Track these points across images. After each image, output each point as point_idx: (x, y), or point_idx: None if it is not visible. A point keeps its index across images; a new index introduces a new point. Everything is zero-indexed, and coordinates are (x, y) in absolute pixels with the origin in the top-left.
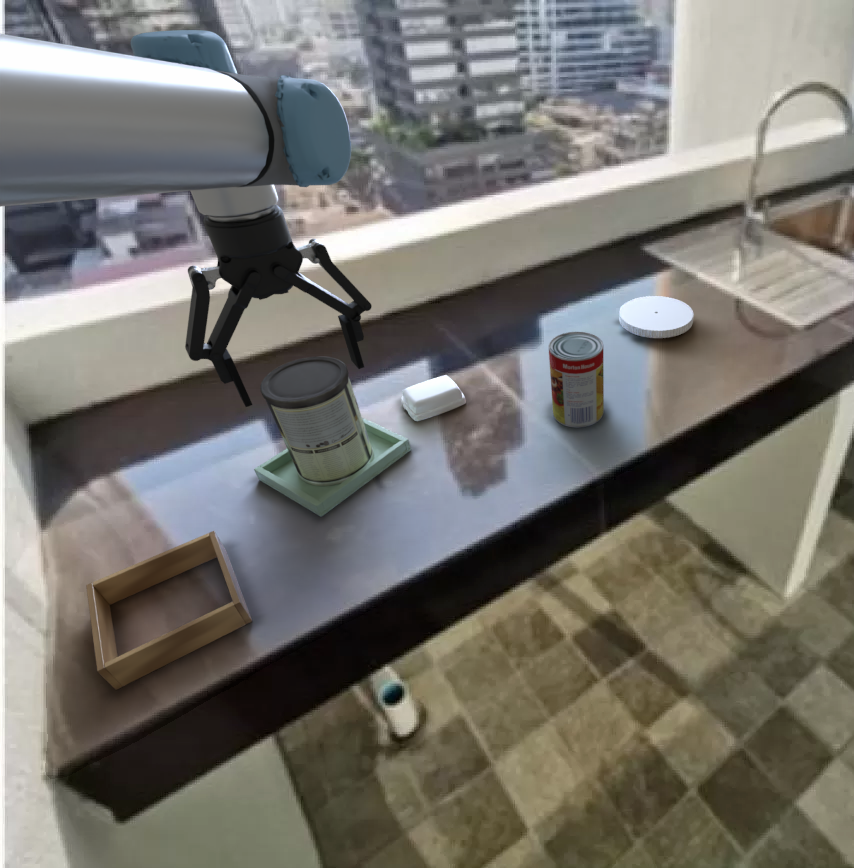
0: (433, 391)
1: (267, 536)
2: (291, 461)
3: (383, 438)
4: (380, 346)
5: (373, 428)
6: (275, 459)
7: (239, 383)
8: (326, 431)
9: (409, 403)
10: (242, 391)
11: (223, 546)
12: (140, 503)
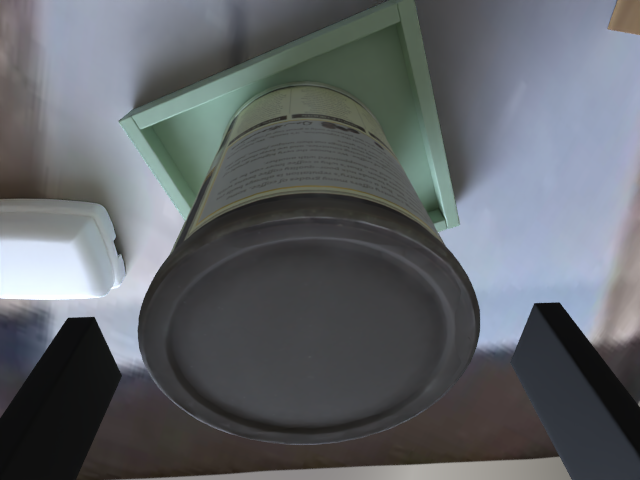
0: (19, 254)
1: (524, 13)
2: None
3: (186, 182)
4: (138, 428)
5: None
6: None
7: (615, 399)
8: (317, 139)
9: (95, 250)
10: (590, 360)
11: (620, 25)
12: (616, 261)
